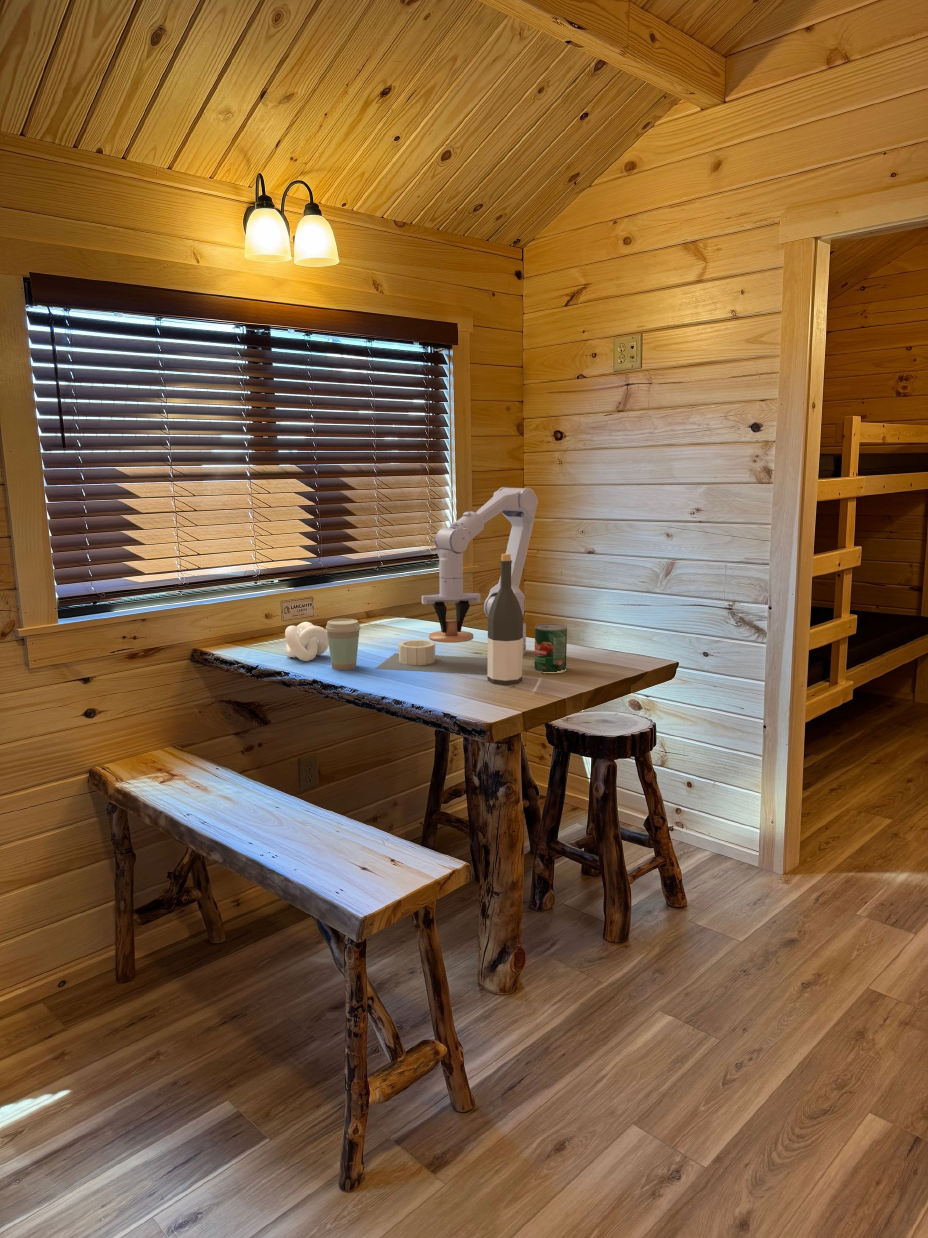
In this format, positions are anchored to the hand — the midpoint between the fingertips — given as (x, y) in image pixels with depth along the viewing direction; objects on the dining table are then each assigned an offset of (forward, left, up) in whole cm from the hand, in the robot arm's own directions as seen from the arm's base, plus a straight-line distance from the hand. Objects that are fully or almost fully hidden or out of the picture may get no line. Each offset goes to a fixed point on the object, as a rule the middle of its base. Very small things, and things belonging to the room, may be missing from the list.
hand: (451, 631), depth 208 cm
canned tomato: (-25, -2, -9) cm, 26 cm away
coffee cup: (+25, +8, -9) cm, 28 cm away
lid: (0, 0, -2) cm, 2 cm away
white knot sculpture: (+39, 0, -9) cm, 41 cm away
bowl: (+9, -2, -8) cm, 13 cm away
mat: (+3, -1, -9) cm, 10 cm away
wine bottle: (-16, +12, -9) cm, 21 cm away
